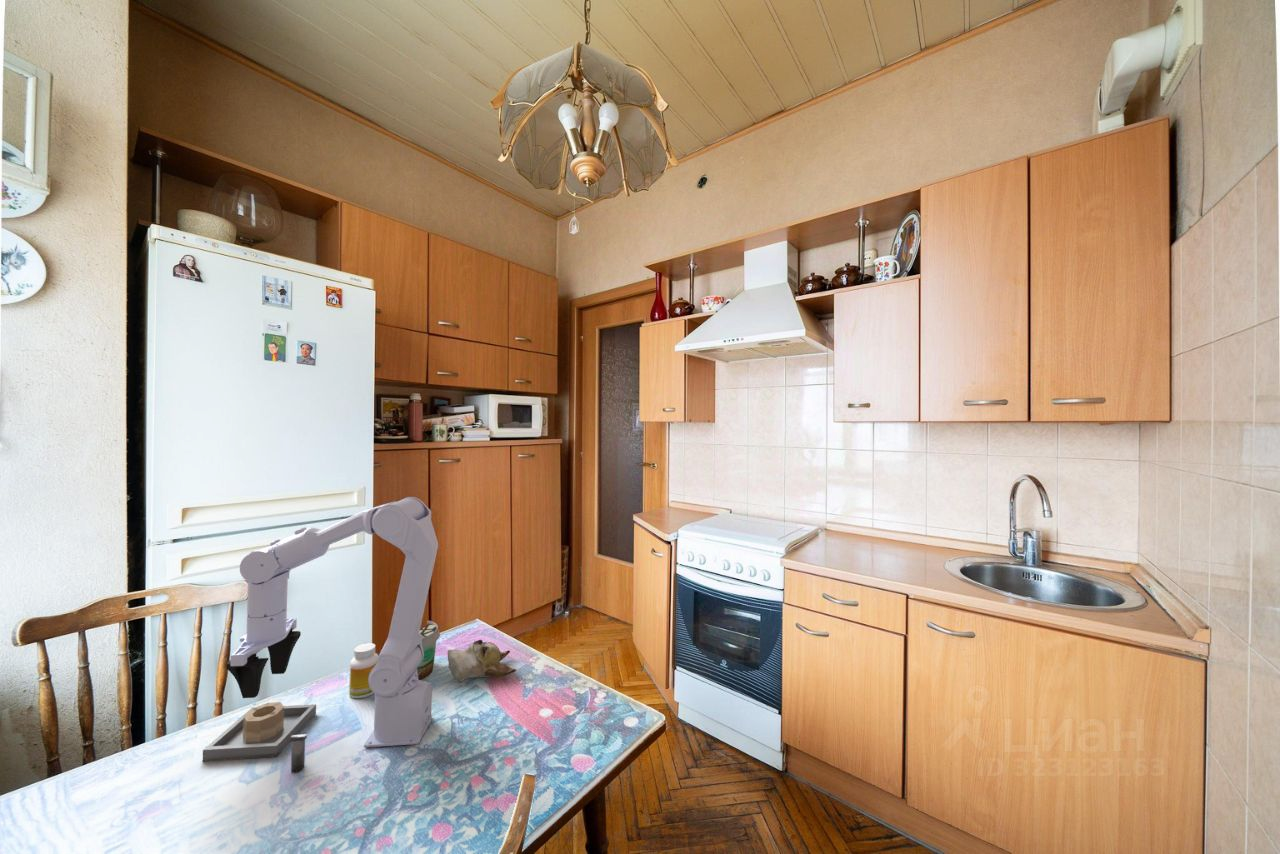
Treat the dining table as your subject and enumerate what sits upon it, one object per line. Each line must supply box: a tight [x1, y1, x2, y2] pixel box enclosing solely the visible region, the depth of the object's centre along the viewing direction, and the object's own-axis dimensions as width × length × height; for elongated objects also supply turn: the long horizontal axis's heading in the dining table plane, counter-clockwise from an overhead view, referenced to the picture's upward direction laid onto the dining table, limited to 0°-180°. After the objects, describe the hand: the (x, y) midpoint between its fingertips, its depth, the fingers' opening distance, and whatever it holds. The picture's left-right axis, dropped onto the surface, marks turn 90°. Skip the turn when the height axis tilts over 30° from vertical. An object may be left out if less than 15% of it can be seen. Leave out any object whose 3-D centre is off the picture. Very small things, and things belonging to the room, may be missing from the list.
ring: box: [243, 701, 285, 744], centre depth 83 cm, size 5×5×4 cm
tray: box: [202, 703, 317, 762], centre depth 83 cm, size 12×12×2 cm
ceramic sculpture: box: [447, 639, 517, 684], centre depth 105 cm, size 11×9×15 cm
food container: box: [417, 620, 441, 681], centre depth 105 cm, size 12×6×10 cm, turn 168°
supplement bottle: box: [348, 642, 379, 699], centre depth 97 cm, size 5×5×10 cm
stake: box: [290, 733, 308, 774], centre depth 75 cm, size 2×2×6 cm
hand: (265, 684), depth 83 cm, fingers open, 7 cm apart
